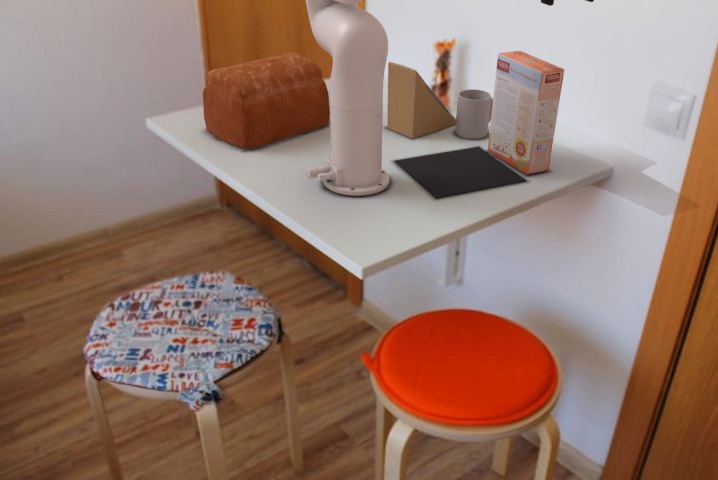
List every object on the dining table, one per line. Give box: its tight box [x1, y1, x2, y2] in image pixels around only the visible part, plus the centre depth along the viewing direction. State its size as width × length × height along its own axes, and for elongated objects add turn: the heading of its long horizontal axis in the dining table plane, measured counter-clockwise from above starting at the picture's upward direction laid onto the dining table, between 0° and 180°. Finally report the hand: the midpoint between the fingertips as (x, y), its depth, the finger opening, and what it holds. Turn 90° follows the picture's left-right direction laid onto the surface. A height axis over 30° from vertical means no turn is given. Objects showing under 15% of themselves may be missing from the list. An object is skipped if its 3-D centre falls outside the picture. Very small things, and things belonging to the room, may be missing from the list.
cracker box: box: [487, 50, 565, 175], centre depth 144 cm, size 14×6×21 cm, turn 30°
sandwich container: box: [387, 61, 456, 139], centre depth 161 cm, size 9×15×15 cm, turn 135°
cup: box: [454, 88, 493, 140], centre depth 160 cm, size 7×10×9 cm
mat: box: [394, 146, 527, 199], centre depth 144 cm, size 20×18×1 cm
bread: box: [202, 51, 330, 149], centre depth 156 cm, size 17×24×15 cm
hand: (567, 2), depth 138 cm, fingers open, 9 cm apart
